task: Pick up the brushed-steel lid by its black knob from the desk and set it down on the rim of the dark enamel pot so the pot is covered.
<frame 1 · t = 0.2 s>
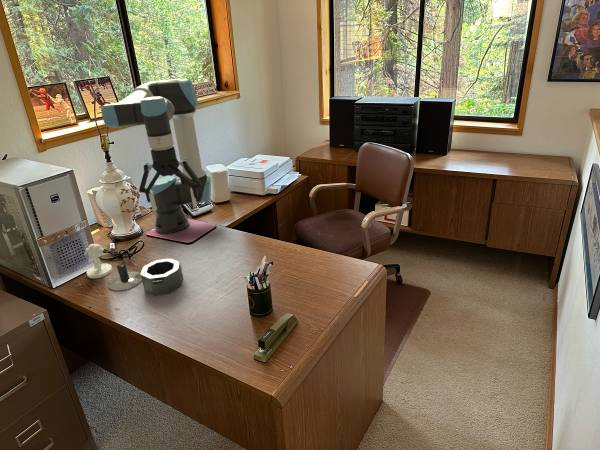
hand: (175, 208, 146), 28 cm above the table, fingers open, 13 cm apart
pot: (164, 284, 155), on the table
figurine: (100, 272, 167), on the table
lid: (125, 282, 159), on the table
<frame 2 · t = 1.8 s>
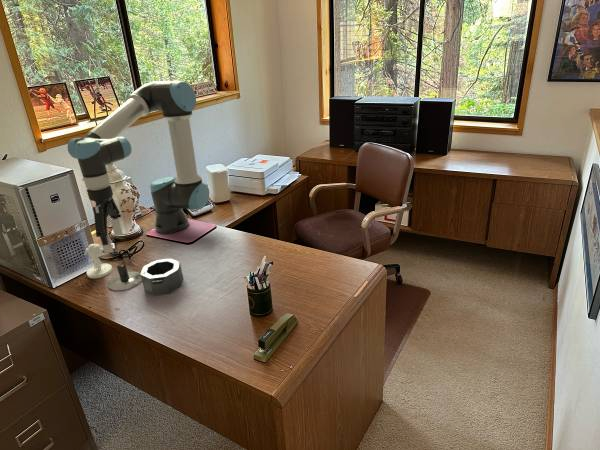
hand: (114, 243, 152), 16 cm above the table, fingers open, 13 cm apart
nothing on the table moved.
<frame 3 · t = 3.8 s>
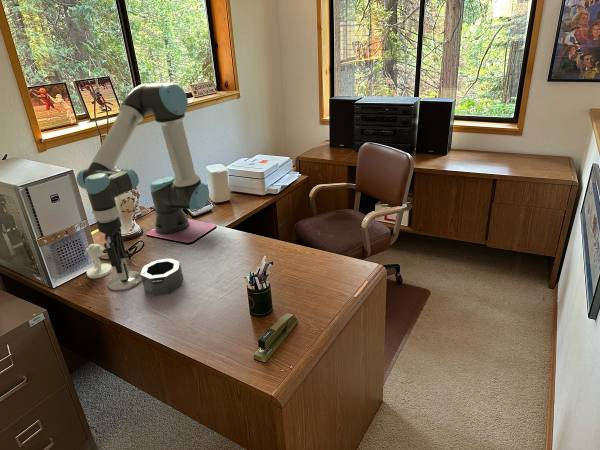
hand: (124, 276, 158), 2 cm above the table, fingers closed on lid, 3 cm apart
lid: (125, 281, 159), on the table, touching gripper
everything else where it was.
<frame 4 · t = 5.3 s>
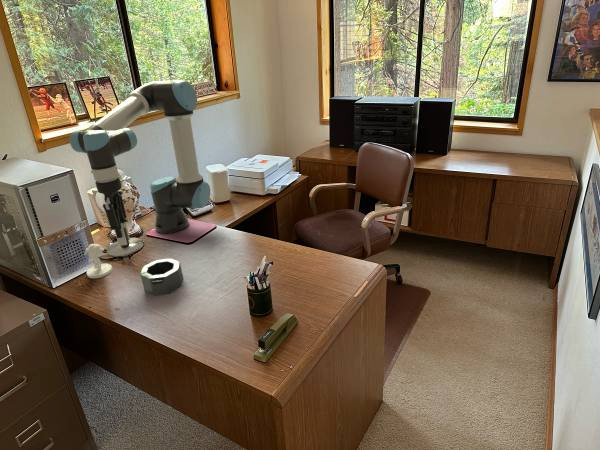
hand: (124, 242, 150), 17 cm above the table, fingers closed on lid, 3 cm apart
lid: (125, 248, 151), point 14 cm above the table, touching gripper
everything else where it was.
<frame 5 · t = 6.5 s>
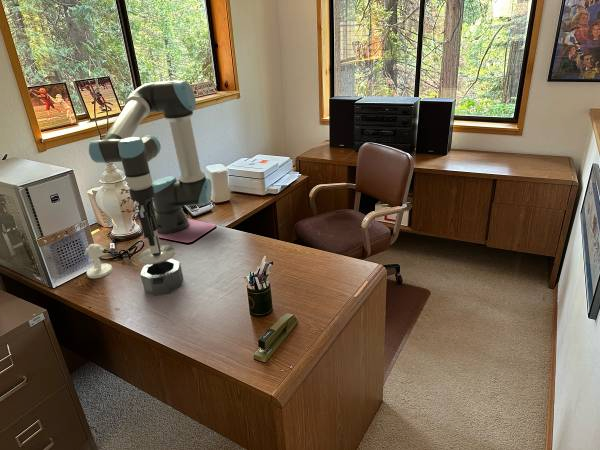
hand: (155, 250, 149), 14 cm above the table, fingers closed on lid, 3 cm apart
lid: (157, 255, 149), point 12 cm above the table, touching gripper
everything else where it was.
when the fingers open (11 cm above the table, at t = 7.2 s): lid drops 1 cm, resting on pot.
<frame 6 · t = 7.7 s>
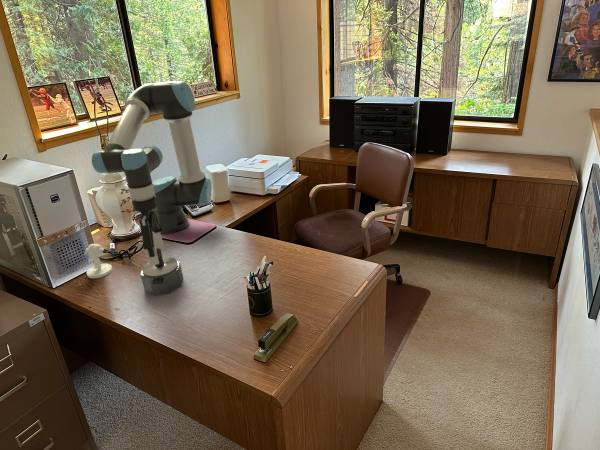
hand: (157, 256, 150), 12 cm above the table, fingers open, 10 cm apart
lid: (160, 268, 152), point 7 cm above the table, touching pot
everything else where it was.
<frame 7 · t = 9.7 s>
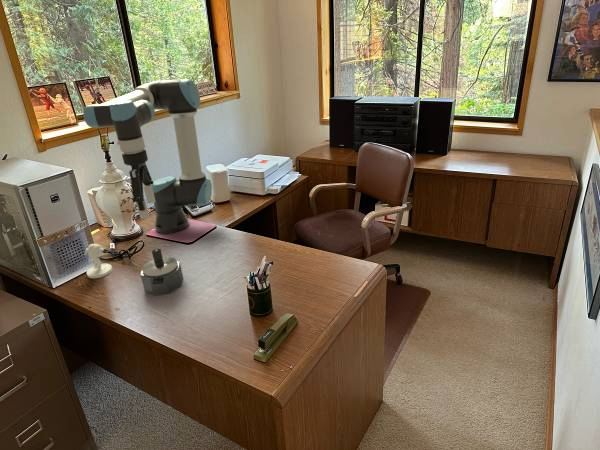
hand: (148, 210, 149), 27 cm above the table, fingers open, 13 cm apart
nothing on the table moved.
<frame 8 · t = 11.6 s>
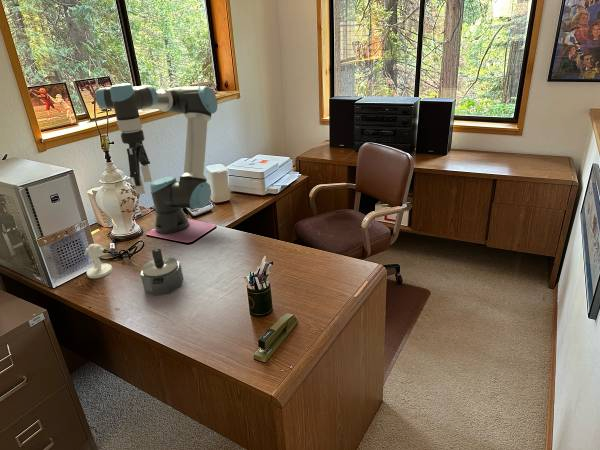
hand: (144, 187, 159), 31 cm above the table, fingers open, 13 cm apart
nothing on the table moved.
at the end: lid 0.1 cm off-centre on the pot, point 7.0 cm above the pot's base; lid tilted 0°; the gripper is holding nothing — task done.
